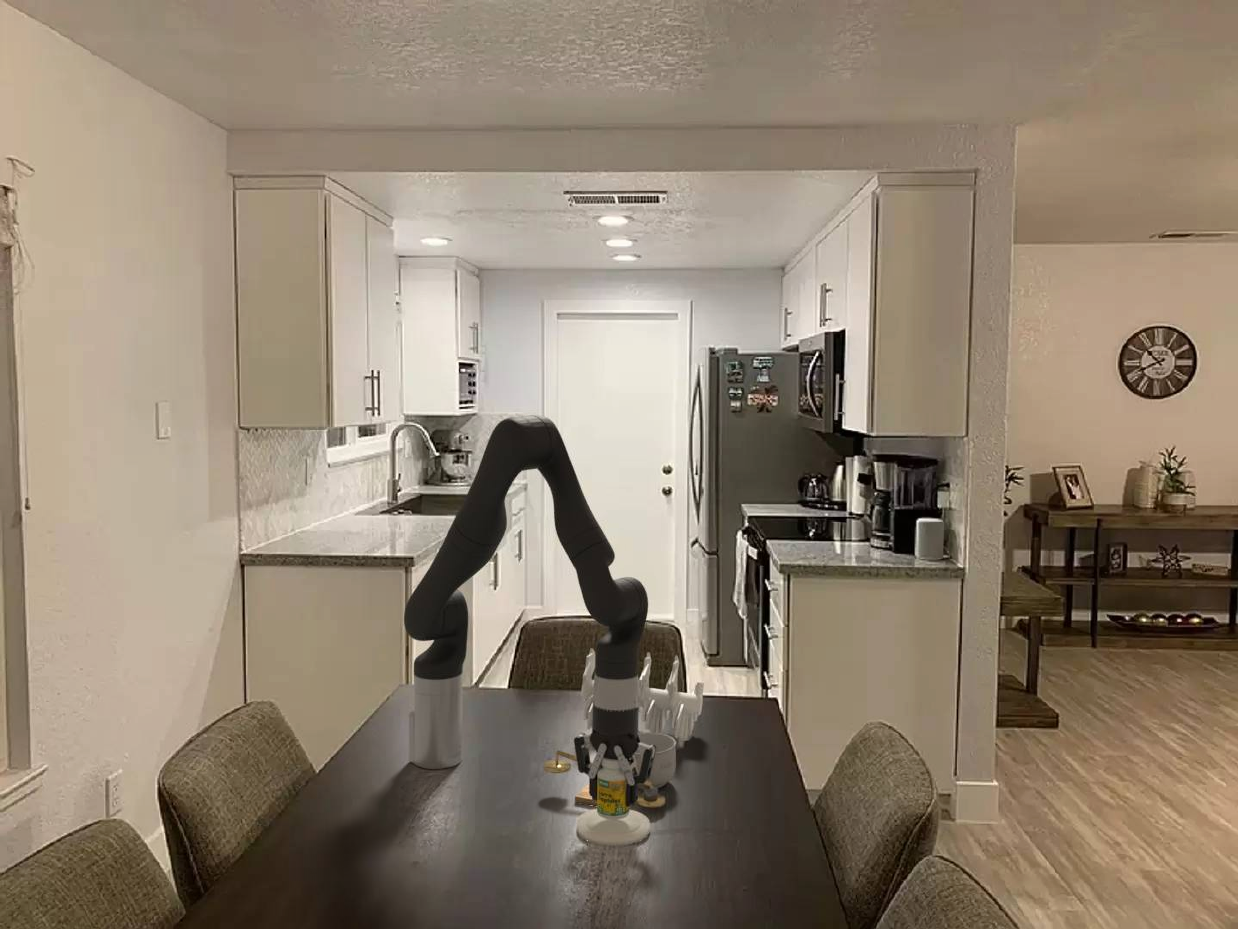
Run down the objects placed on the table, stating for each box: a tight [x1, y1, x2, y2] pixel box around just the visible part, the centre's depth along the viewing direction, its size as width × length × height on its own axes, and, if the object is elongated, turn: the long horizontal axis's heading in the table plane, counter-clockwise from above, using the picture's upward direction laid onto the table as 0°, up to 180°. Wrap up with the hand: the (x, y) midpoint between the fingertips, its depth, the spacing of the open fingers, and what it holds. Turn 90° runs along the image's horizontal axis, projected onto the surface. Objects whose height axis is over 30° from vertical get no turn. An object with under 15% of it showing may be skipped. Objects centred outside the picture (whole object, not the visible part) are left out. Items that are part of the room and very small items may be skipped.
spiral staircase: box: [580, 647, 705, 746], centre depth 207 cm, size 18×18×25 cm
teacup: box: [634, 729, 677, 790], centre depth 185 cm, size 14×11×8 cm
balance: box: [542, 749, 666, 809], centre depth 175 cm, size 23×6×8 cm, turn 69°
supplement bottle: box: [596, 758, 631, 820], centre depth 164 cm, size 5×5×10 cm
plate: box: [576, 808, 651, 847], centre depth 164 cm, size 12×12×1 cm
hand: (613, 801), depth 164 cm, fingers closed on supplement bottle, 5 cm apart
